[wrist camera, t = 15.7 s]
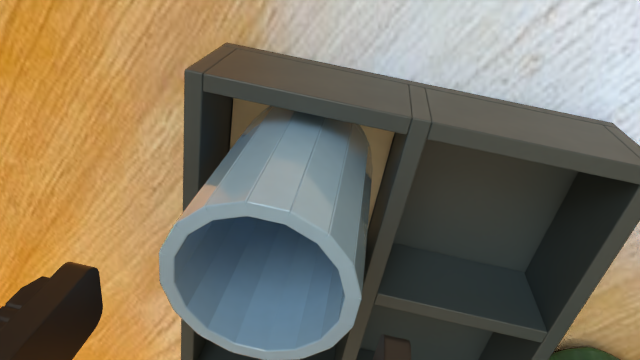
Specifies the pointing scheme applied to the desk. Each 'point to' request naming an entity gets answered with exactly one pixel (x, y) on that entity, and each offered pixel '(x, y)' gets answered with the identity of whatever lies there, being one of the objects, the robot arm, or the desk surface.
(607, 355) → the coffee jar
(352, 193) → the cup
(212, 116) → the compartment tray
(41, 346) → the robot arm
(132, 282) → the desk surface
